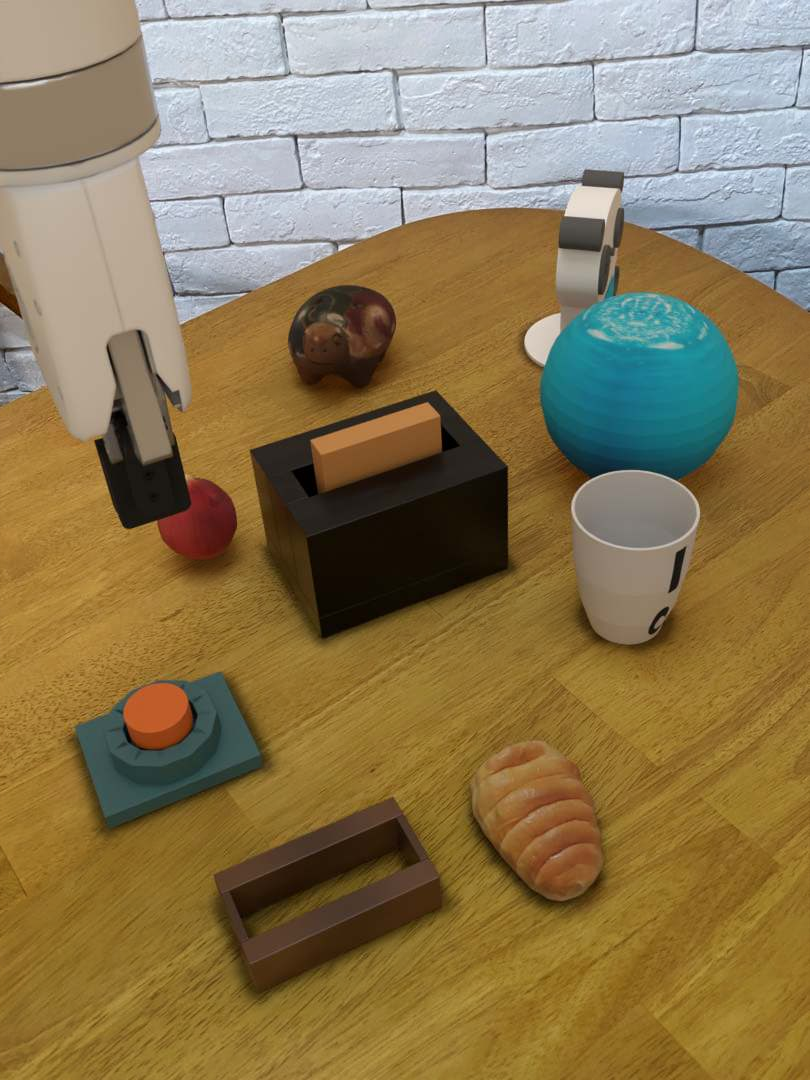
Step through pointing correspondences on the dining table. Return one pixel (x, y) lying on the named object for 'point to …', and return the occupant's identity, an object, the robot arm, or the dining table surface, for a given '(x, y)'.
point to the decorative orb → (639, 387)
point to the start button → (158, 716)
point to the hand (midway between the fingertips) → (153, 509)
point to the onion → (201, 522)
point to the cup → (632, 550)
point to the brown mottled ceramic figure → (341, 334)
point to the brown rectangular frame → (337, 920)
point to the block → (168, 753)
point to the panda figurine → (583, 256)
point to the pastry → (539, 818)
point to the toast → (376, 446)
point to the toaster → (384, 522)
